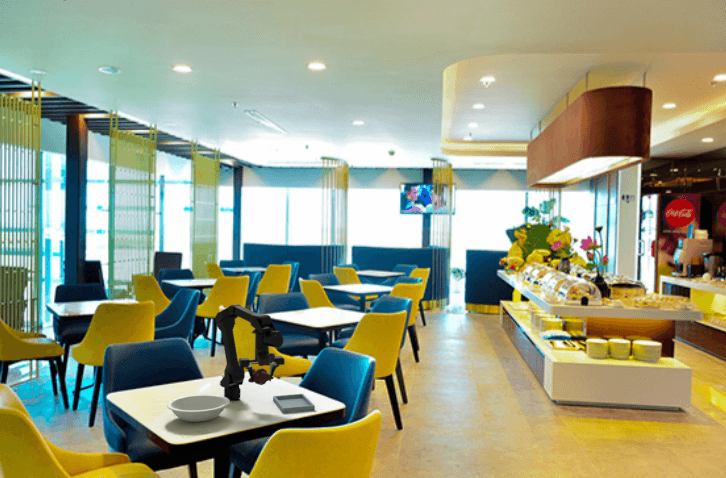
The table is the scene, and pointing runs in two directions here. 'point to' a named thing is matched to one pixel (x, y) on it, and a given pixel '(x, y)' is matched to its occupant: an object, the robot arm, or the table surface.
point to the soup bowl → (198, 407)
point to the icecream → (260, 376)
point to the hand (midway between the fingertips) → (261, 381)
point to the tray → (293, 403)
